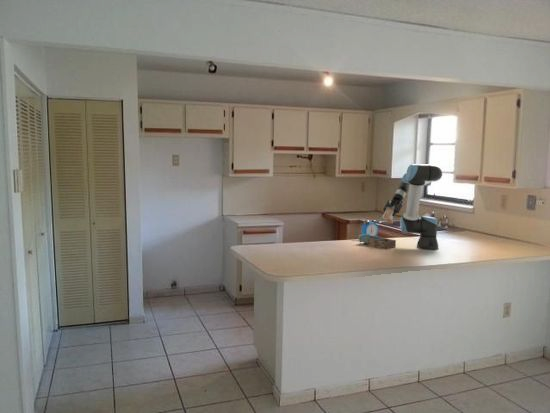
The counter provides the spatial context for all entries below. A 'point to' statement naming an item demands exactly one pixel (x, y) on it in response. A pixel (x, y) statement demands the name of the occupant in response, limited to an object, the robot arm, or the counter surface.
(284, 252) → the counter surface
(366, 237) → the tray
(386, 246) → the stand
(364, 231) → the alarm clock
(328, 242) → the counter surface
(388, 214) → the canister
